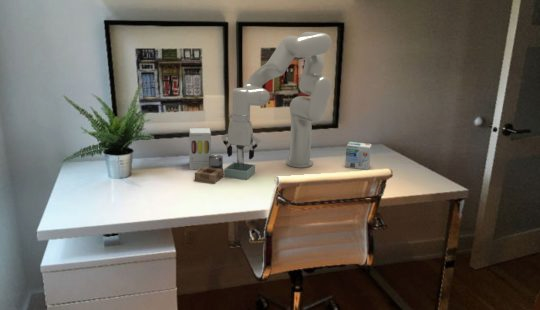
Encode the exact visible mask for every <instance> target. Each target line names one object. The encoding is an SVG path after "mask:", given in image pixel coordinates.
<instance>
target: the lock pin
mask: <svg viewBox="0 0 540 310" xmlns="http://www.w3.org/2000/svg"><path fill="white" fill-rule="evenodd" d="M235 146H236V162H237V170H241V171H244V163H245V147H246V146H240V145H235Z"/></svg>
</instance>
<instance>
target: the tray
mask: <svg viewBox="0 0 540 310" xmlns="http://www.w3.org/2000/svg"><path fill="white" fill-rule="evenodd" d="M255 173H256V164H251V163H245V162H244V171H241V170H237V161H233V162H232V163H230V164H229V165H227V166H226V167H225V168H224V177H225V178H230V179H238V180H244V181H248V180H249V179H250V178H251V177H252V176H253V175H255Z"/></svg>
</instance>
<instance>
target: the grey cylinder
mask: <svg viewBox="0 0 540 310" xmlns="http://www.w3.org/2000/svg"><path fill="white" fill-rule="evenodd" d="M223 163H224V156H222V155H220V154H211V156H209V167H211V168H218V169H223V170H224V164H223Z"/></svg>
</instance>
